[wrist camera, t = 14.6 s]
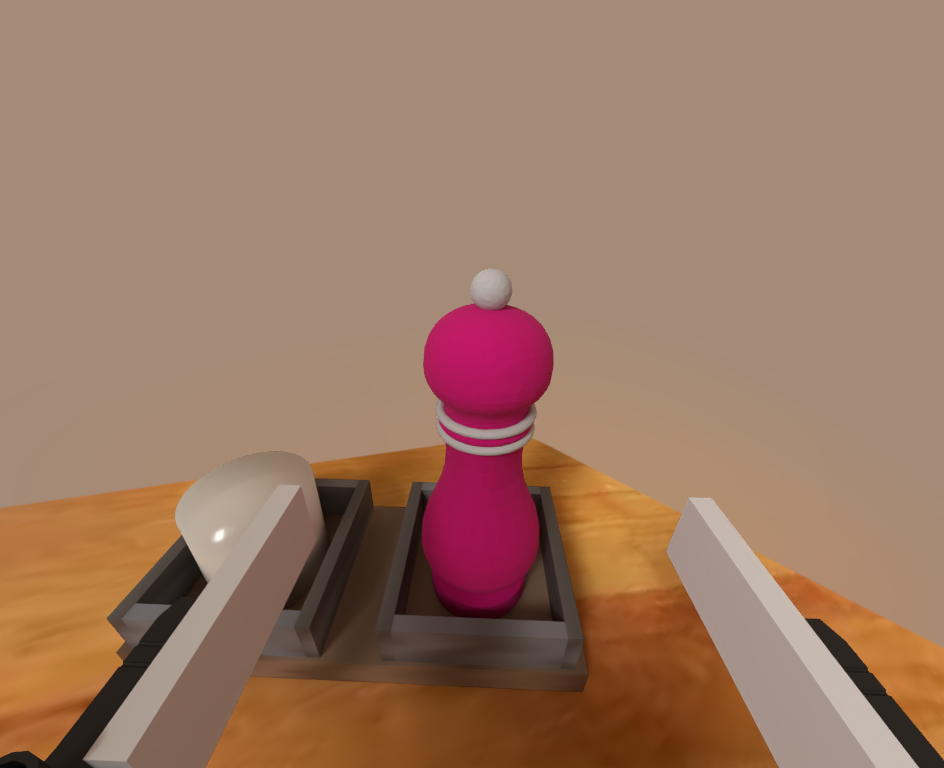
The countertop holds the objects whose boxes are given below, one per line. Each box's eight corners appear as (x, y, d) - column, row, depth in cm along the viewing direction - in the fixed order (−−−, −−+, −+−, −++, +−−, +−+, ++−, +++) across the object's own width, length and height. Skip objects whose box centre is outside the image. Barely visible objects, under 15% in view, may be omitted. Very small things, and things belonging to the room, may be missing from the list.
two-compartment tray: (132, 670, 20) (89, 622, 18) (246, 518, 30) (228, 473, 28) (582, 691, 20) (599, 644, 17) (550, 529, 30) (558, 485, 27)
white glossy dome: (187, 609, 21) (139, 531, 18) (260, 517, 27) (235, 446, 24) (296, 626, 21) (268, 549, 17) (346, 528, 27) (333, 457, 24)
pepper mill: (486, 515, 28) (501, 252, 19) (554, 586, 23) (621, 274, 14) (405, 563, 24) (373, 263, 15) (466, 661, 19) (474, 299, 10)
